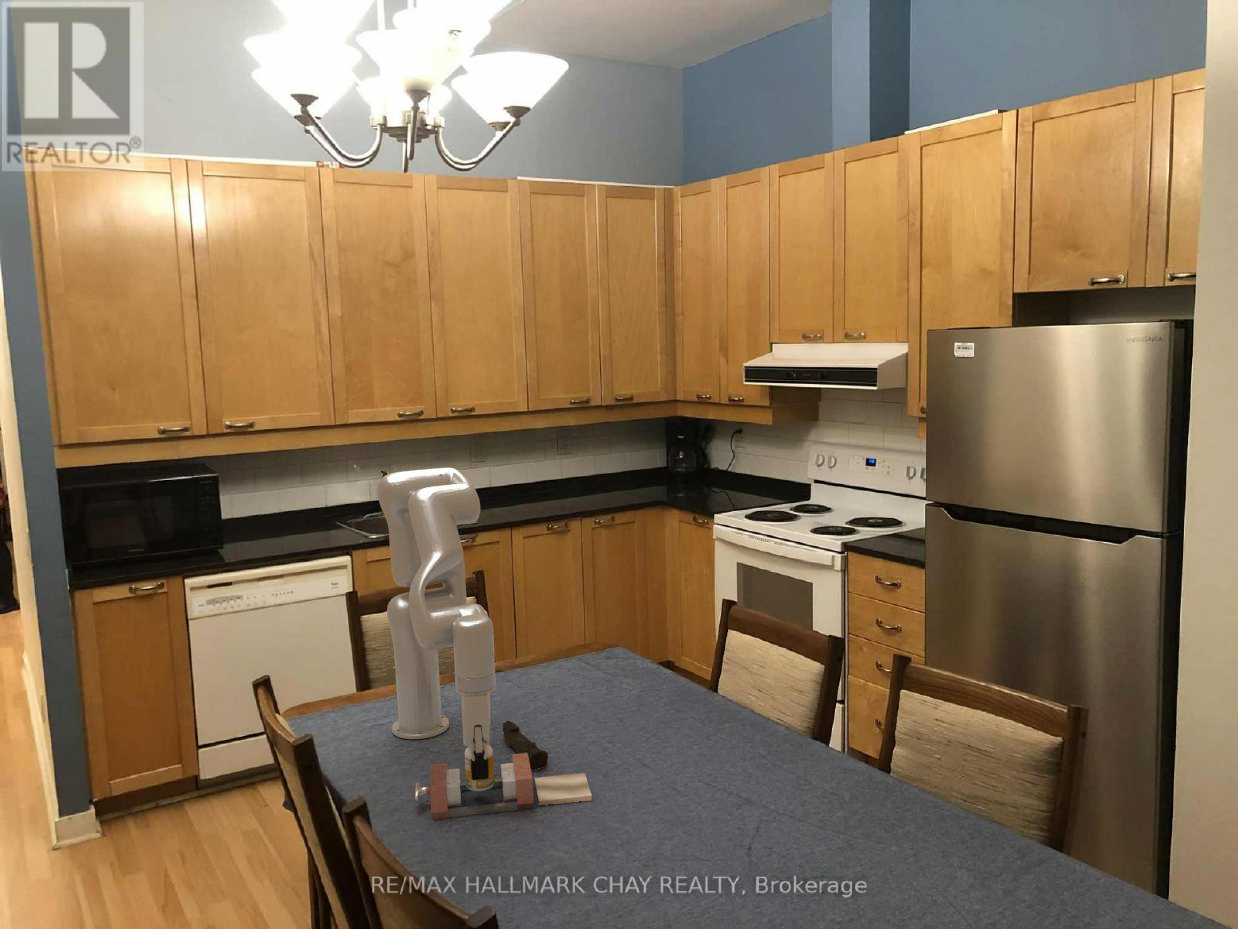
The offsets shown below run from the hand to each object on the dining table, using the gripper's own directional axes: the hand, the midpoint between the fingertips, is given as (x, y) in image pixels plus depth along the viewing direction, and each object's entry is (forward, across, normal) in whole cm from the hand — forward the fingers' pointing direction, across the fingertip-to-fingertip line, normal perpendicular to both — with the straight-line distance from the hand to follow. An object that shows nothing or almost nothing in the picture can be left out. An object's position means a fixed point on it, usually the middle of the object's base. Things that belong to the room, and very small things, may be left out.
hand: (479, 770), depth 195 cm
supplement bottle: (+3, 0, 0) cm, 3 cm away
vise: (+6, +1, -1) cm, 6 cm away
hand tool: (+6, -19, +9) cm, 22 cm away
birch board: (+6, +1, +16) cm, 17 cm away
